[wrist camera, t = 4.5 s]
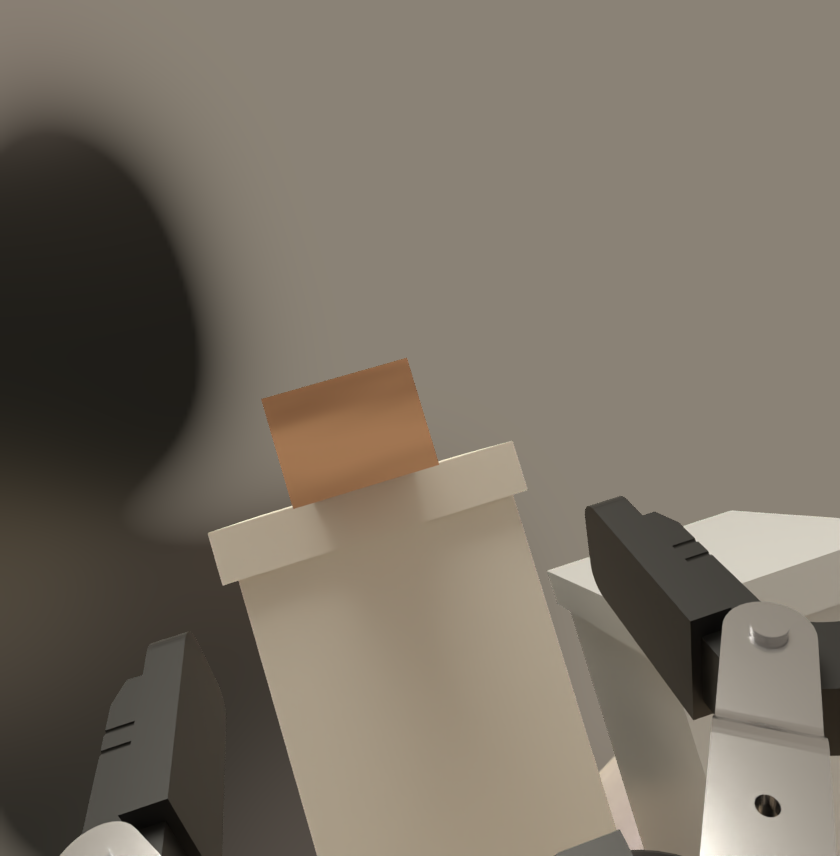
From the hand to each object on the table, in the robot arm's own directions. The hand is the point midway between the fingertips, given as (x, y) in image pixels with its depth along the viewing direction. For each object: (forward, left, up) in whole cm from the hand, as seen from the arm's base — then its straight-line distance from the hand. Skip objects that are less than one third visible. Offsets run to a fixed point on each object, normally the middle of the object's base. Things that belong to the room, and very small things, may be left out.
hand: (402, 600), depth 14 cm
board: (-8, +13, +2) cm, 16 cm away
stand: (-10, +17, -30) cm, 36 cm away
